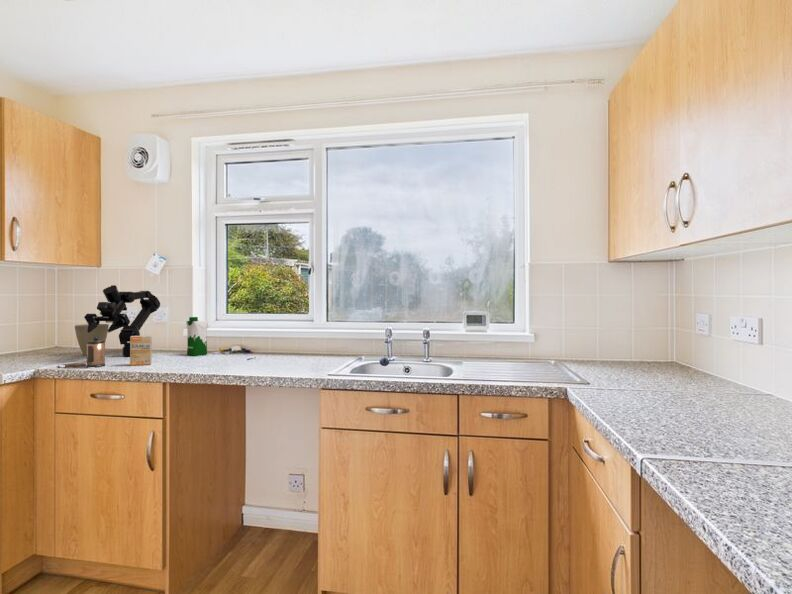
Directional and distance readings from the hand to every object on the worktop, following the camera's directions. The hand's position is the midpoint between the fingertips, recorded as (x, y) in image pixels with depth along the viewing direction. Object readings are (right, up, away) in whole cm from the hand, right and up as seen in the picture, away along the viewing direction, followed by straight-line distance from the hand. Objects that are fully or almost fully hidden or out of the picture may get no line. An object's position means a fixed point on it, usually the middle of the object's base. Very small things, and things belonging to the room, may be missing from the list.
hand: (98, 331), depth 200 cm
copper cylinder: (+5, -15, -8) cm, 17 cm away
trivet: (-6, -15, -8) cm, 18 cm away
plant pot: (-24, -15, +30) cm, 42 cm away
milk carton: (+33, -15, +28) cm, 46 cm away
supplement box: (+22, -15, -4) cm, 27 cm away
